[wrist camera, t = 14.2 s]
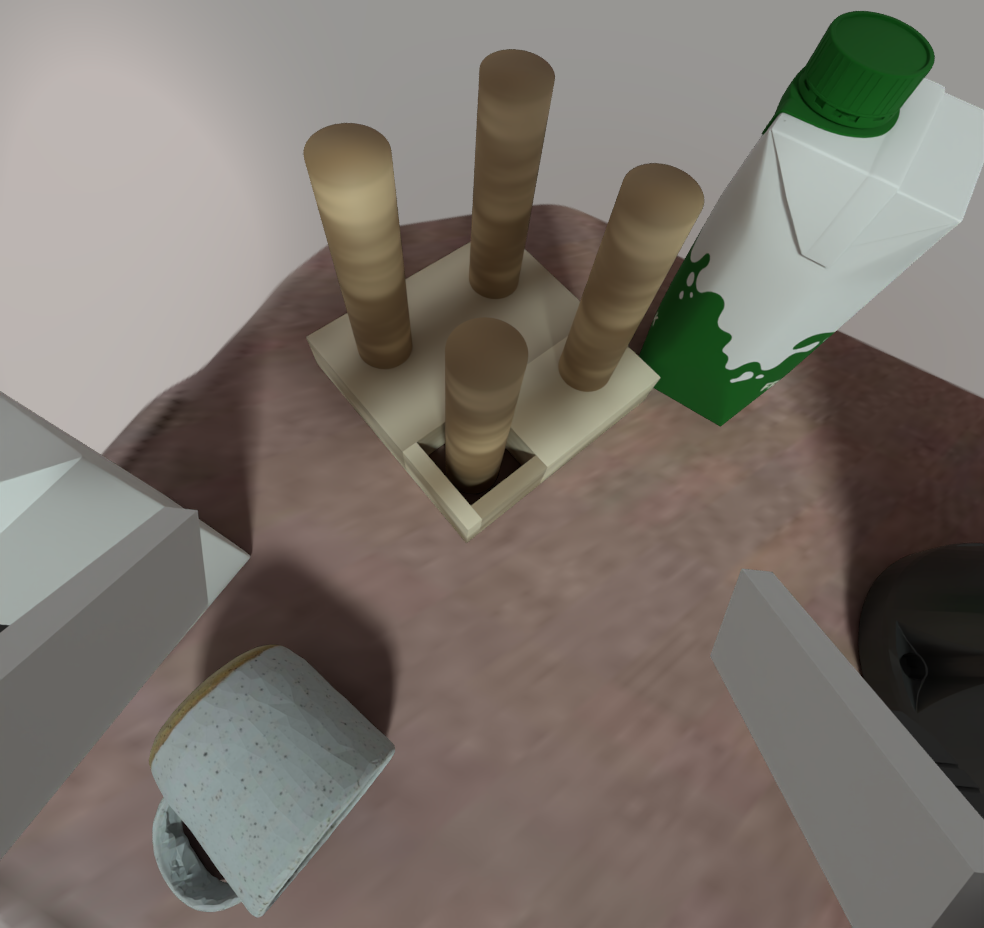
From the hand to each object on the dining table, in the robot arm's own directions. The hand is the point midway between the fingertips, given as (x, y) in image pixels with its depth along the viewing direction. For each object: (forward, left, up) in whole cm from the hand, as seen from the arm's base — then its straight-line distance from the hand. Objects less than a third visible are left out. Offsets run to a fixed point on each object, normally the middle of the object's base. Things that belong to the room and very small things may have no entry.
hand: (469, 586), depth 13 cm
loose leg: (+7, -7, -18) cm, 20 cm away
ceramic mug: (0, +11, -18) cm, 21 cm away
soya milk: (+3, -25, -18) cm, 31 cm away
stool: (+12, -12, -18) cm, 24 cm away
